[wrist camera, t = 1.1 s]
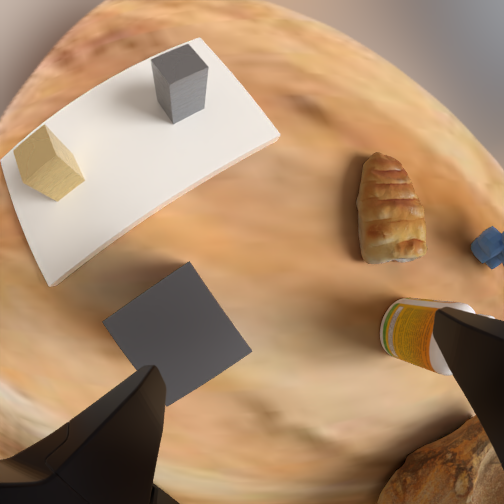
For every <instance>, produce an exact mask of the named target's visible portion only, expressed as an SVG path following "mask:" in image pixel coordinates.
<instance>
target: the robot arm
mask: <svg viewBox="0 0 504 504" xmlns="http://www.w3.org/2000/svg"><path fill="white" fill-rule="evenodd" d="M433 337H434V339H435V341H436V343H437V345H438V347H439V349H440V351H441V353H442V355H443V357H444V359H445V361H446V363H447V365H448V367H449V369H450V371H451V373H452V374H453V376H454V378H455V379H456V381H457V383H458V384H459V386H460V388H461V389H462V391H463V393H464V394H465V396H466V398H467V400H468V401H469V403H470V405H471V407H472V408H473V410H474V412H475V414H476V415H477V417H478V419H479V421H480V423H481V425H482V427H483V429H484V430H485V432H486V434H487V436H488V438H489V440H490V442H491V444H492V446H493V448H494V450H495V453H496V455H497V457H498V459H499V461H500V463H501V466H502V468H503V470H504V321H501V320H497V319H493V318H489V317H486V316H482V315H478V314H474V313H470V312H466V311H462V310H459V309H455V308H451V307H443V308H440V309H438V310H436V312H435V317H434V325H433ZM166 391H167V389H166V384H165V382H164V380H163V378H162V376H161V374H160V371H159V369H158V368H157V366H155V365H146V366H143V367H141V368H140V369H139V370H137V371H136V372H135V373H133V374H132V375H131V376H129V377H128V378H127V379H125V380H124V381H123V382H121V383H120V384H119V385H117V386H116V387H115V388H113V389H112V390H111V391H109V392H108V393H107V394H105V395H104V396H103V397H101V398H100V399H99V400H97V401H96V402H95V403H93V404H92V405H91V406H89V407H88V408H86V409H85V410H84V411H82V412H81V413H80V414H78V415H77V416H76V417H74V418H73V419H71V420H70V421H69V422H67V423H66V424H64V425H63V426H62V427H60V428H59V429H57V430H56V431H54V432H53V433H51V434H50V435H48V436H47V437H45V438H44V439H42V440H40V441H39V442H37V443H35V444H34V445H32V446H30V447H28V448H27V449H25V450H23V451H21V452H20V453H18V454H16V455H14V456H12V457H10V458H7V459H3V460H0V504H179V503H178V502H177V501H176V500H174V499H173V498H172V497H170V496H169V495H168V494H166V493H165V492H164V491H162V490H161V489H160V488H158V487H157V486H156V485H154V484H153V478H154V473H155V467H156V462H157V457H158V452H159V447H160V442H161V437H162V431H163V424H164V412H165V401H166Z"/></svg>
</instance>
